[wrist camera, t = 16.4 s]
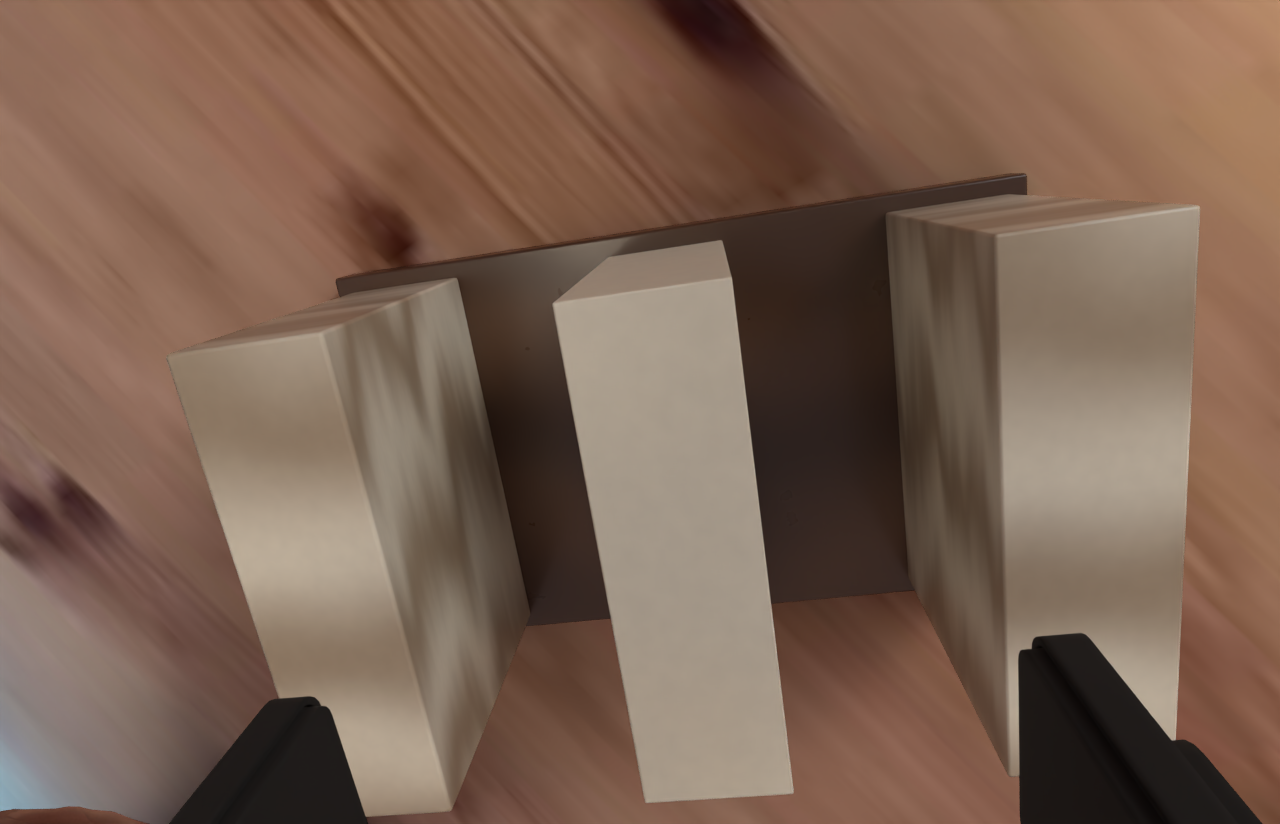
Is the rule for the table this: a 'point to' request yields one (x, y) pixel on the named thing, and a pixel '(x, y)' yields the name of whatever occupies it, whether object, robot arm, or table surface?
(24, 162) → the table surface
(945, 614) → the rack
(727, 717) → the cream rectangular block
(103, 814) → the decorative planter
